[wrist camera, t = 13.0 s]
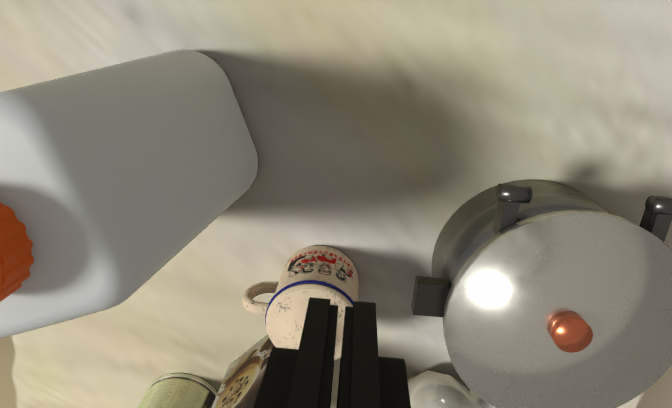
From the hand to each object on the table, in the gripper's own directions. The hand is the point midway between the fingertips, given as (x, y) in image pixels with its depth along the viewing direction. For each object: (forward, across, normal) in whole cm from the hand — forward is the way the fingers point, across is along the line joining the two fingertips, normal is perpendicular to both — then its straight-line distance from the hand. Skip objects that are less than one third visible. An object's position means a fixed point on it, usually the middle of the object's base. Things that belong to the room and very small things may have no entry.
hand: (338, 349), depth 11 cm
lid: (+25, -19, +14) cm, 34 cm away
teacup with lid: (+35, +4, +18) cm, 40 cm away
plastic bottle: (+35, +18, +3) cm, 40 cm away
